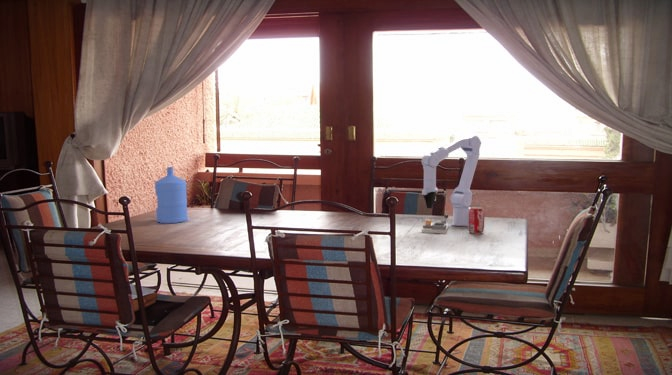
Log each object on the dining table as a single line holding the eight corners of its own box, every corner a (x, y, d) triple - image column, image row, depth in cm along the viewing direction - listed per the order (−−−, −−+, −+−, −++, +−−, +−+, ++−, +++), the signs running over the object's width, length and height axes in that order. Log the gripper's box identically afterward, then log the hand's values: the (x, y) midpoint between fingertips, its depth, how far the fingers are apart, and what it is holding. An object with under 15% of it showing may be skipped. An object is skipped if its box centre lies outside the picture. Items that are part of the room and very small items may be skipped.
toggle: (445, 224, 300) (449, 214, 299) (445, 225, 299) (448, 215, 298) (441, 222, 301) (445, 213, 300) (441, 223, 299) (444, 214, 298)
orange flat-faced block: (431, 226, 295) (431, 219, 294) (430, 227, 292) (430, 220, 291) (426, 226, 295) (426, 219, 295) (425, 227, 292) (425, 220, 292)
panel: (448, 226, 303) (448, 219, 303) (445, 233, 287) (445, 225, 286) (425, 225, 306) (425, 218, 305) (421, 232, 290) (421, 224, 289)
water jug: (194, 220, 326) (192, 166, 323) (171, 224, 313) (169, 169, 310) (173, 217, 335) (170, 165, 331) (150, 222, 321) (147, 168, 318)
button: (443, 227, 292) (444, 222, 292) (443, 229, 288) (443, 224, 288) (435, 227, 293) (435, 222, 293) (434, 228, 289) (434, 223, 289)
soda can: (485, 232, 289) (486, 206, 287) (482, 235, 282) (482, 208, 281) (470, 231, 292) (470, 205, 290) (466, 233, 285) (467, 208, 284)
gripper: (432, 181, 288) (431, 210, 289) (443, 178, 300) (442, 206, 302) (417, 181, 291) (417, 209, 293) (429, 177, 304) (429, 205, 305)
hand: (429, 208), depth 298 cm, fingers closed
